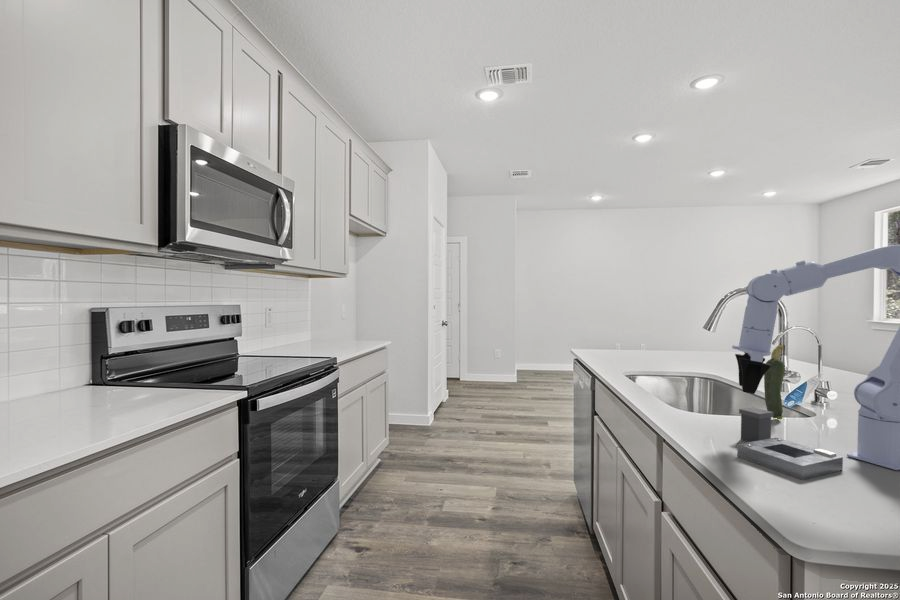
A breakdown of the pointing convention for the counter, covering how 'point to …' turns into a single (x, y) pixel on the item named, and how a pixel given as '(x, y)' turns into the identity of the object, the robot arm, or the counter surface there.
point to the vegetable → (774, 383)
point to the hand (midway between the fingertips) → (746, 389)
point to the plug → (755, 424)
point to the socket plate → (790, 457)
